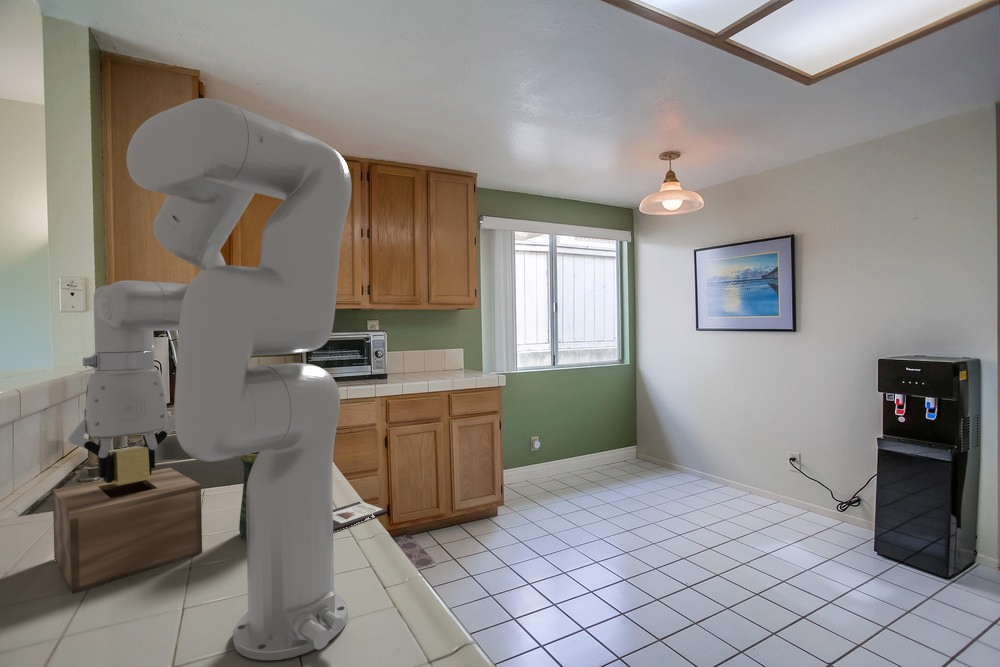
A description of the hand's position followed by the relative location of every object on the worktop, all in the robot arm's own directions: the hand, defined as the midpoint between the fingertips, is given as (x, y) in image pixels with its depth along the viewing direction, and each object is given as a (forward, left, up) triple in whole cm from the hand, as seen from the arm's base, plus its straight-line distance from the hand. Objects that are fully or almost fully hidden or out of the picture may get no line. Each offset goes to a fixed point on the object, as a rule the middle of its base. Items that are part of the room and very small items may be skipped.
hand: (127, 476), depth 78 cm
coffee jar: (-8, -19, -13) cm, 24 cm away
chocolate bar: (-13, -28, -13) cm, 34 cm away
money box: (0, 0, -13) cm, 13 cm away
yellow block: (-1, 0, -1) cm, 1 cm away
